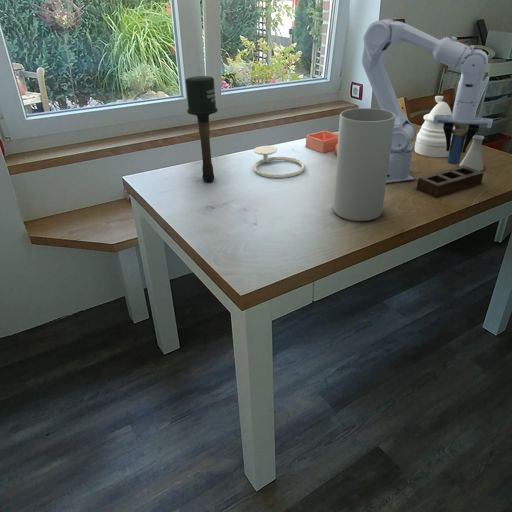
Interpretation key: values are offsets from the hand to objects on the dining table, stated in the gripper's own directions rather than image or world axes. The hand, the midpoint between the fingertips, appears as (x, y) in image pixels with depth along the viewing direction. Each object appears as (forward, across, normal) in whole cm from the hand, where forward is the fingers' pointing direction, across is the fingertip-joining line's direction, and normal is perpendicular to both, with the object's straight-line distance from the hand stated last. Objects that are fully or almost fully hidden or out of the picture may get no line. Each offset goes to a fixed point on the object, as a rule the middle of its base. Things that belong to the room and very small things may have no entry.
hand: (455, 151), depth 122 cm
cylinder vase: (+10, +20, +27) cm, 35 cm away
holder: (+10, 0, +1) cm, 10 cm away
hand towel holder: (+10, +53, +4) cm, 54 cm away
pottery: (+10, +41, -19) cm, 46 cm away
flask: (+10, -5, -17) cm, 21 cm away
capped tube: (+3, 0, 0) cm, 3 cm away
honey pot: (+10, +7, -30) cm, 32 cm away
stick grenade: (+10, +68, +22) cm, 72 cm away
